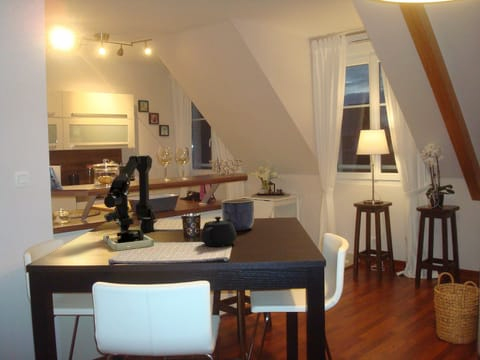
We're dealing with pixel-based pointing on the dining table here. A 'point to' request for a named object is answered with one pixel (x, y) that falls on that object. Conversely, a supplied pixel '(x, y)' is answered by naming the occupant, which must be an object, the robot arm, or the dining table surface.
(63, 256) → the dining table surface
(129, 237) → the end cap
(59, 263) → the dining table surface
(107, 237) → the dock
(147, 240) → the tray
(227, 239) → the teapot
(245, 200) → the planter
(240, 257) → the dining table surface
